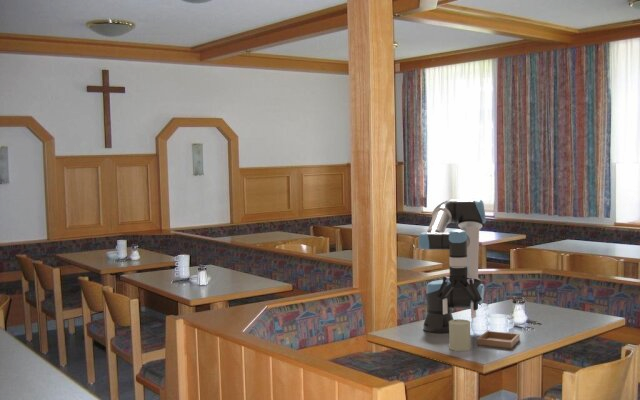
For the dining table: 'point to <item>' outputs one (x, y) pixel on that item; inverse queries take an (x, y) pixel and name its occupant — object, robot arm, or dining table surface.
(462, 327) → the can
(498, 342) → the brown square tray
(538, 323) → the dining table surface
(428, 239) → the robot arm
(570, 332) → the dining table surface
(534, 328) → the dining table surface
